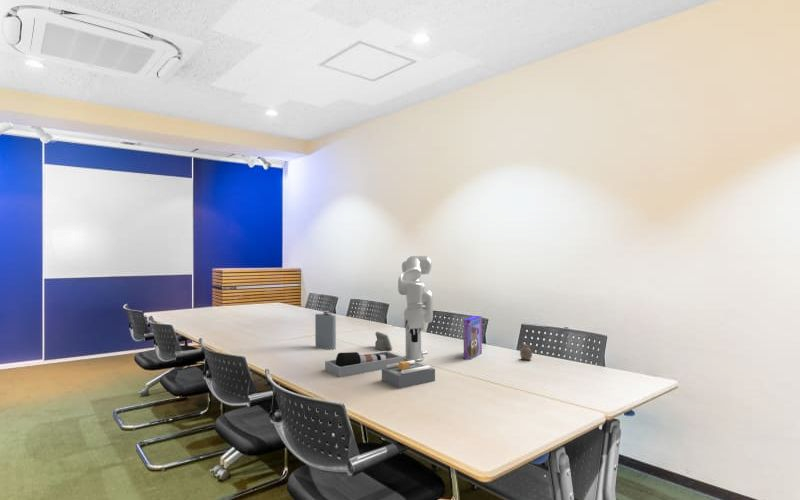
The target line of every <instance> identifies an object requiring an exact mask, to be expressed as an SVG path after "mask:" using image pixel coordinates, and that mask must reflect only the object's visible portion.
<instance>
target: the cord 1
mask: <svg viewBox="0 0 800 500" xmlns="http://www.w3.org/2000/svg"><path fill="white" fill-rule="evenodd" d="M407 362H410V365H411V364H415V363H416V361H415V360H411V361H407ZM395 367H399V363H394V364H389V365H387V366H386V368H388V369H389V368H395Z"/></svg>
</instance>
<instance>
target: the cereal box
mask: <svg viewBox="0 0 800 500" xmlns="http://www.w3.org/2000/svg"><path fill="white" fill-rule="evenodd" d="M482 321H483V320H482V316H481V315H474V316H471V317H467V318H465V319H463V360H472V359H475V358H476V357H478V356H480V355H482V353H483V349H482V348H483V346H482V345H483V344H482V343H483V341H482V339H483V337H482V335H483V333H482V332H483V330H482V329H483V327H482V326H483V325H482V323H483V322H482Z"/></svg>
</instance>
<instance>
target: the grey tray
mask: <svg viewBox="0 0 800 500" xmlns="http://www.w3.org/2000/svg"><path fill="white" fill-rule="evenodd" d="M369 354H370V355H385V356H386V358H390V359H384V360H378V361H372V362H366V363H360V364H354V365H348V366H343V367H339V366H337V365H336V359H330V360H325V361H324V370H325V371H326V372H328V373H329V374H331V375H333V376H335V377H337V378H343V377H348V376H354V375H360V373H361V374H365V372H366V373H370V372H371V373H372V372H375V371H382V369H384V368H386V366H387V365H389V364H394V363H399V362H402V361H404V359H403V357H404V356H402V355H399V354H396V353H393V352H390V351H389V350H385V351H380V352H375V353H369Z"/></svg>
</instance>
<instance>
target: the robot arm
mask: <svg viewBox="0 0 800 500" xmlns="http://www.w3.org/2000/svg"><path fill="white" fill-rule="evenodd" d="M401 271H402V273H401V274H400V275H399V277H398V280H397V290H398V294H400V295H401V296H405V297H406V308H405V309H404V310H403V317H404V321H403V327H404V328H405V355H404V356H402V357H403V361H411V360H415V362H422V361H423V360H424V359H425V357H424V356H425V355H428V354H429V353H428V351H427V350H425V351H422V330H424V326H425V324H430V323H432V322H433V320H434V319H433V318H434V305H433V292H432V291H431V290H430V289H427V288H426V285H425V283H424V281H422V280H420V278H421V276H422V275H428V274H430V272H431V271H432V259H431V258H430V257H429V256H427V255H413V256H409V257H407V259H406V261H403V262H402V263H401ZM423 306H424V307H423Z"/></svg>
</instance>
